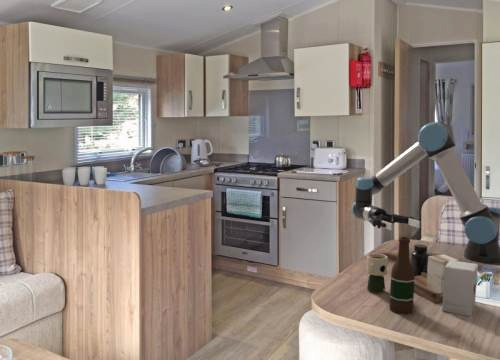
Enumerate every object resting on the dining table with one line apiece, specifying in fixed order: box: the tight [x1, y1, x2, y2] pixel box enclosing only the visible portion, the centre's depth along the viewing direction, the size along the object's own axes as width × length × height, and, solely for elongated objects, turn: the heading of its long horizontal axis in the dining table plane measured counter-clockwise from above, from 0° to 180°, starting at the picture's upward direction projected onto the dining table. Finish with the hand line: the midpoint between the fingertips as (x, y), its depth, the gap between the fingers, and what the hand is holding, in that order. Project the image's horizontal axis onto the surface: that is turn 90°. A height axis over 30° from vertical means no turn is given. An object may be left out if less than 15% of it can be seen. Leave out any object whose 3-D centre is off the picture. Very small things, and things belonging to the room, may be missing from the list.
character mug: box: [366, 252, 389, 294], centre depth 175 cm, size 11×7×13 cm, turn 142°
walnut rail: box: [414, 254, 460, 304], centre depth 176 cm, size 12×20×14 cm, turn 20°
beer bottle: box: [389, 236, 415, 315], centre depth 158 cm, size 8×8×24 cm
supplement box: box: [441, 260, 479, 317], centre depth 159 cm, size 9×9×15 cm
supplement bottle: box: [410, 244, 430, 276], centre depth 192 cm, size 7×7×12 cm
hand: (405, 226), depth 200 cm, fingers open, 13 cm apart
